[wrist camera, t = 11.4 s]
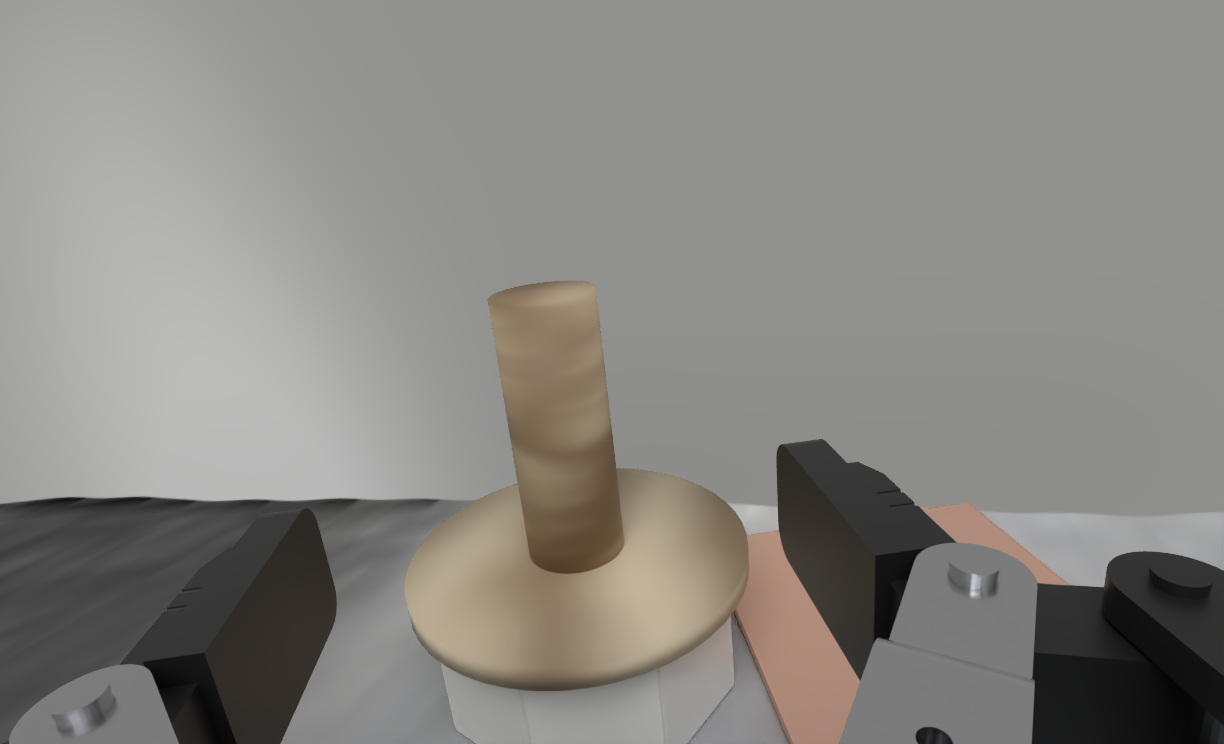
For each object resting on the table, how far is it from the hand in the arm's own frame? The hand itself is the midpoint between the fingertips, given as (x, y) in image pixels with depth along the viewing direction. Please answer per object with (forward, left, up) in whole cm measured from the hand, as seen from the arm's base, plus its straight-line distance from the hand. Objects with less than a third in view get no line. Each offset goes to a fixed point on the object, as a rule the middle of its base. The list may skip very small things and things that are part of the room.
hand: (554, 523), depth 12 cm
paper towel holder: (0, -11, -8) cm, 13 cm away
